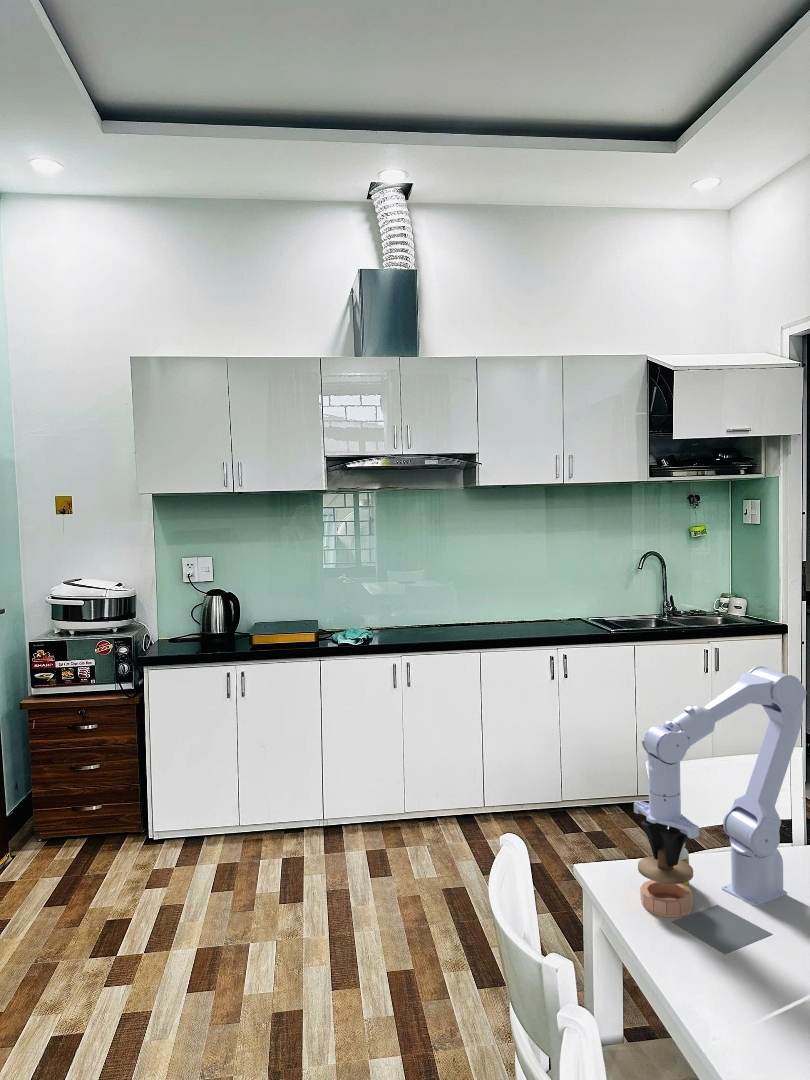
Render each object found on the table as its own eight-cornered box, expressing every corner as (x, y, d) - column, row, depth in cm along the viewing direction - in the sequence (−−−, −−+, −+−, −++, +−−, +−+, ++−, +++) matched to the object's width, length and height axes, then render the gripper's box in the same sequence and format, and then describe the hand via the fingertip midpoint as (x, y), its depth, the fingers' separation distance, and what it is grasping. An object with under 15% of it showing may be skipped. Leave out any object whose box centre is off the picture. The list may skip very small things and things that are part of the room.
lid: (666, 856, 157) (666, 836, 157) (705, 876, 148) (705, 855, 148) (626, 866, 153) (626, 845, 153) (664, 888, 144) (664, 866, 144)
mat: (717, 906, 150) (717, 904, 150) (772, 936, 140) (772, 934, 140) (671, 923, 145) (671, 921, 145) (724, 956, 134) (724, 953, 134)
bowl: (666, 890, 157) (665, 875, 157) (702, 910, 149) (702, 894, 149) (631, 902, 153) (630, 886, 153) (667, 923, 145) (666, 907, 145)
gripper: (621, 783, 155) (622, 852, 155) (678, 808, 142) (679, 882, 143) (648, 777, 158) (649, 843, 159) (706, 800, 145) (707, 872, 146)
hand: (665, 861), depth 151 cm, fingers closed on lid, 3 cm apart
